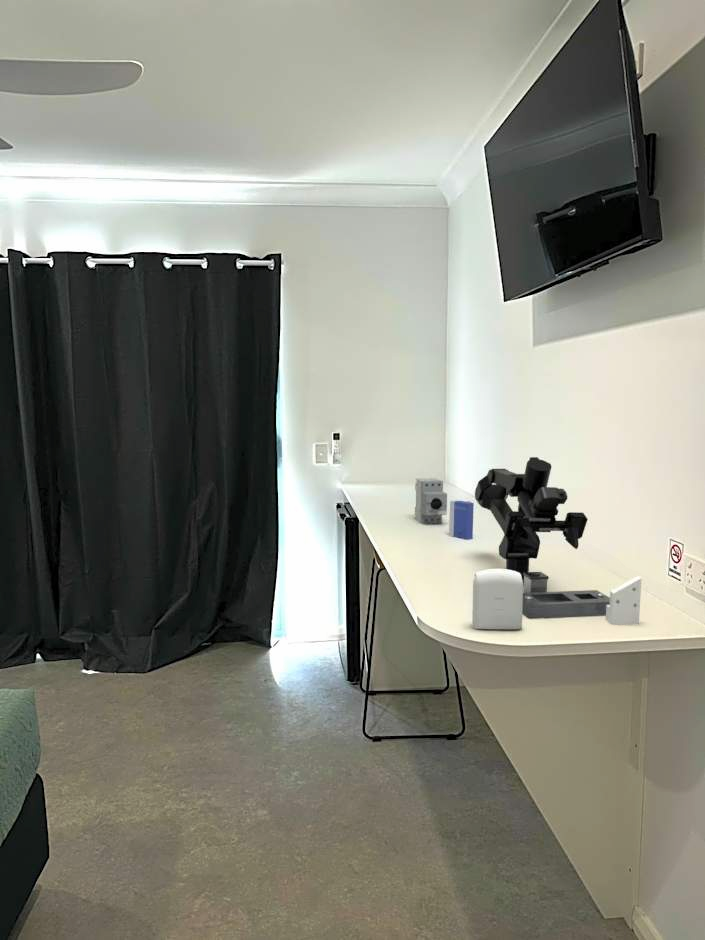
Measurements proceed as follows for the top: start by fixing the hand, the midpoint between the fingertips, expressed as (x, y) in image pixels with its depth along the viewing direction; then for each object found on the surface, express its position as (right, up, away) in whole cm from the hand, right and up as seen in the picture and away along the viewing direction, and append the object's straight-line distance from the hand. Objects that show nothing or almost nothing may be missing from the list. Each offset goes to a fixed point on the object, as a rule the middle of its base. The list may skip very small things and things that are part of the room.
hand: (557, 547), depth 168 cm
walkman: (-10, -5, +78) cm, 79 cm away
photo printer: (-15, -16, -11) cm, 24 cm away
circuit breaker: (-17, -2, +102) cm, 103 cm away
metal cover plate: (+2, -14, +1) cm, 14 cm away
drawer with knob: (-3, -13, +10) cm, 17 cm away
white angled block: (+12, -16, -6) cm, 21 cm away
